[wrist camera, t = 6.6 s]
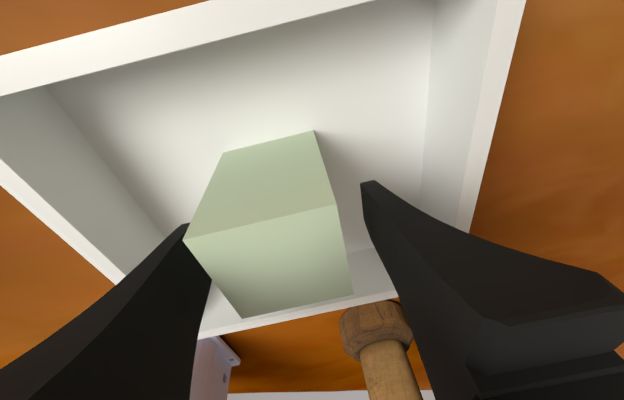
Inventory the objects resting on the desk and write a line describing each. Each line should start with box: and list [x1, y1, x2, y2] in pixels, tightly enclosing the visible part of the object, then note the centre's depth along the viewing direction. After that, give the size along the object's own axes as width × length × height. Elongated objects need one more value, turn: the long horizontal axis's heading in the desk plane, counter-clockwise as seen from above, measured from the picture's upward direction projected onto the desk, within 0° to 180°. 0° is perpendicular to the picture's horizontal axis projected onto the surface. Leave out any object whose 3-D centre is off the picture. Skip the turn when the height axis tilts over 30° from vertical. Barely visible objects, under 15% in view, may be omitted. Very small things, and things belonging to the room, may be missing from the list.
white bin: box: [0, 0, 526, 340], centre depth 12 cm, size 15×17×4 cm
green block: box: [182, 130, 354, 319], centre depth 11 cm, size 4×4×6 cm
